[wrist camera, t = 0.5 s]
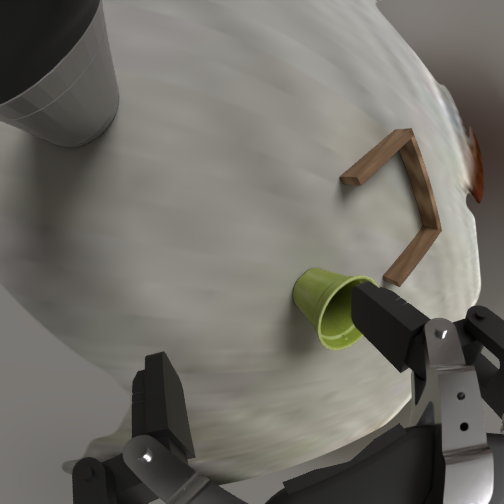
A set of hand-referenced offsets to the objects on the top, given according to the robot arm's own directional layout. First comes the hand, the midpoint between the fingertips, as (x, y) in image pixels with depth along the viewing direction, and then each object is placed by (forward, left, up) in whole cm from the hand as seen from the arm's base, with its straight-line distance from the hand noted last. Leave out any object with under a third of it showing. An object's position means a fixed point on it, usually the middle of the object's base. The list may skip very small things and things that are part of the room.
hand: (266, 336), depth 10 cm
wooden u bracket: (+16, +27, -20) cm, 38 cm away
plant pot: (+16, +8, -21) cm, 28 cm away
